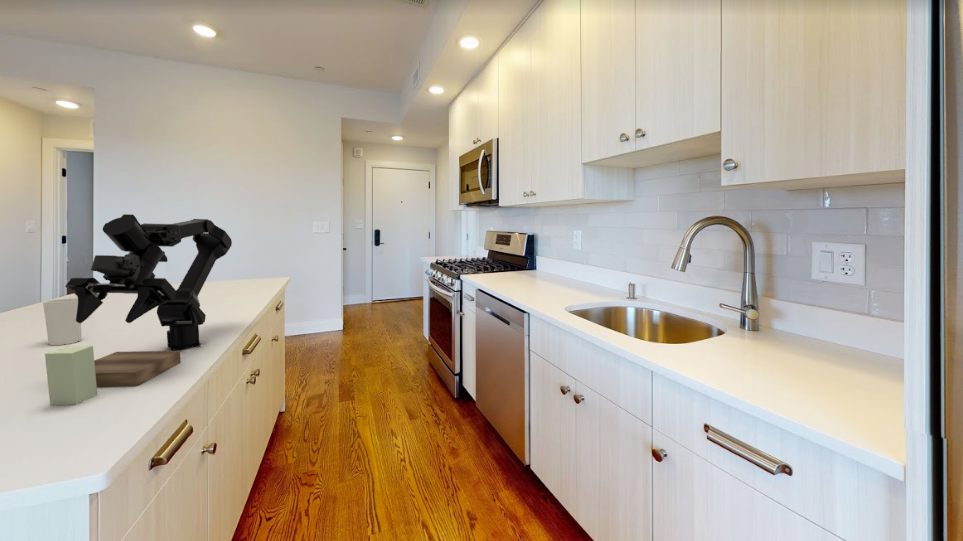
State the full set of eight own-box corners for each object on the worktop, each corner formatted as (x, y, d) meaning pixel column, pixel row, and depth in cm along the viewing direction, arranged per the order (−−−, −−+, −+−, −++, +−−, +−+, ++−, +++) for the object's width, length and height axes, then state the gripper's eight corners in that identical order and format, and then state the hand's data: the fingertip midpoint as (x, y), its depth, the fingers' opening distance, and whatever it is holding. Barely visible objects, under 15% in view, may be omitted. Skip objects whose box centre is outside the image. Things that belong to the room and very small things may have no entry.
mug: (83, 342, 106) (80, 300, 105) (47, 347, 101) (43, 303, 100) (81, 335, 113) (77, 295, 112) (47, 339, 108) (42, 298, 107)
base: (117, 363, 91) (116, 351, 91) (180, 362, 93) (180, 350, 93) (61, 387, 78) (60, 373, 77) (137, 386, 79) (136, 372, 79)
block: (72, 395, 75) (67, 346, 74) (97, 394, 75) (92, 345, 74) (50, 405, 70) (44, 353, 69) (76, 404, 71) (71, 353, 70)
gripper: (69, 240, 81) (19, 300, 72) (164, 242, 84) (128, 300, 74) (103, 272, 90) (63, 329, 80) (189, 273, 92) (160, 329, 83)
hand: (103, 322), depth 79 cm, fingers open, 9 cm apart
